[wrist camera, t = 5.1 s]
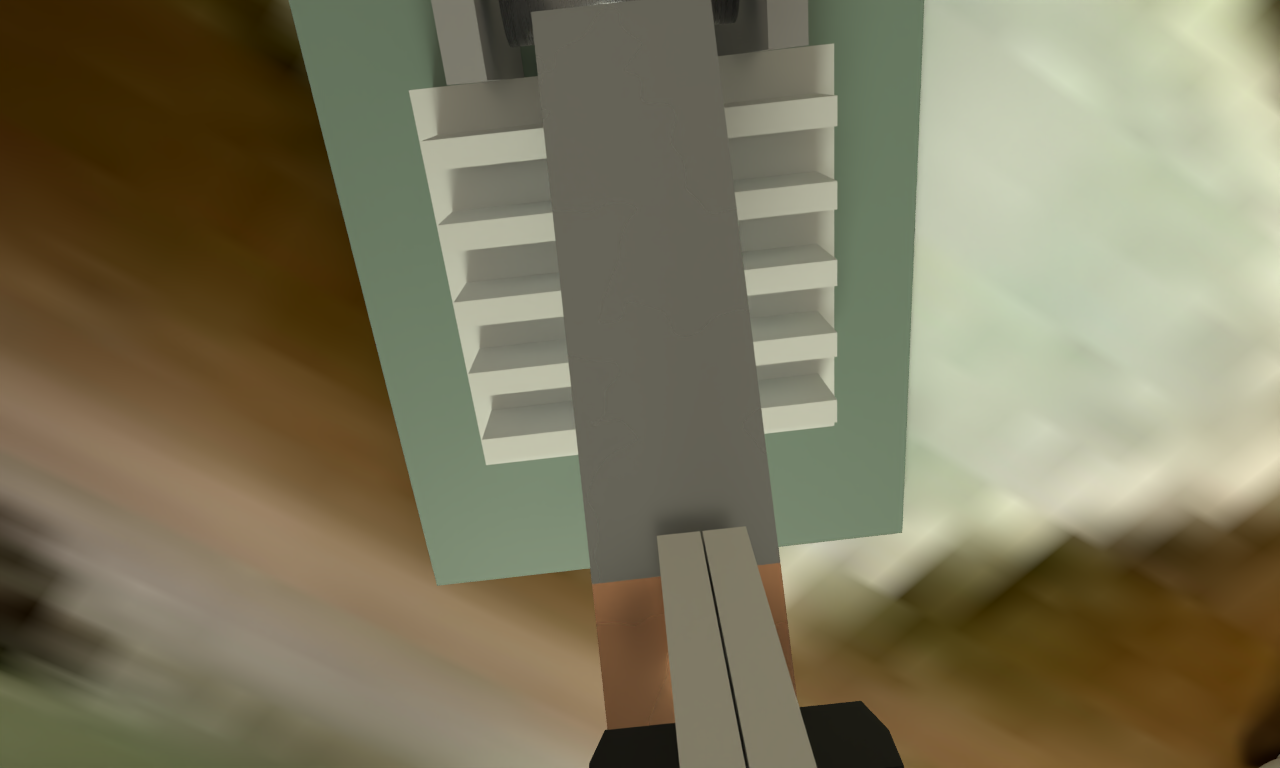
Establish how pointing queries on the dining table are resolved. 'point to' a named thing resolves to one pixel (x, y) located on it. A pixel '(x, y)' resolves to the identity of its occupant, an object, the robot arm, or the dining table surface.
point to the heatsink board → (428, 328)
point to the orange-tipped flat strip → (650, 312)
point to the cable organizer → (1272, 763)
